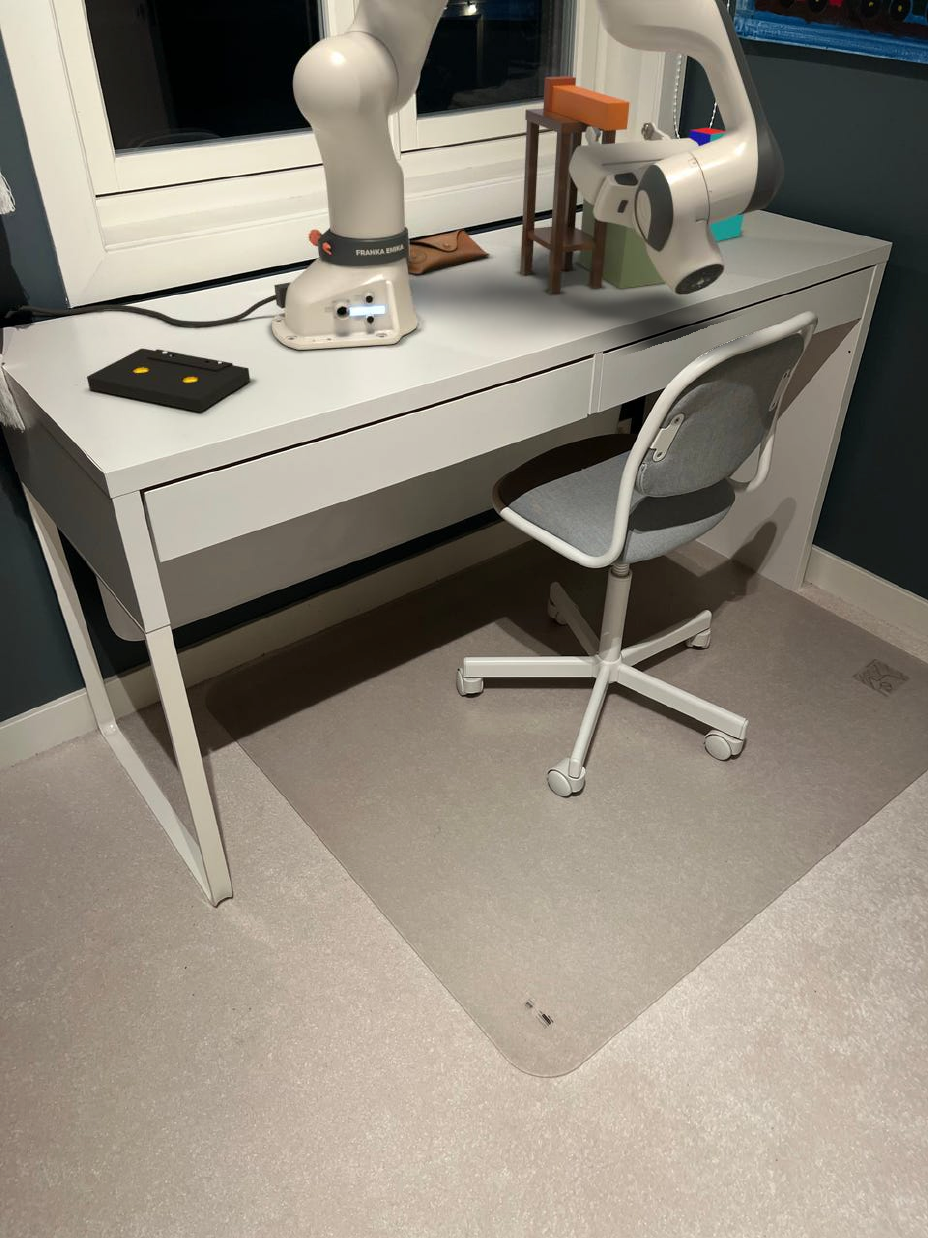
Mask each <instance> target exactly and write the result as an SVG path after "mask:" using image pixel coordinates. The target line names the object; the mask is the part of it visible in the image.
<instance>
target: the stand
mask: <svg viewBox="0 0 928 1238" xmlns="http://www.w3.org/2000/svg"><path fill="white" fill-rule="evenodd" d="M524 116H525V117H524V120H525V121H526V126H525V128H526V129H525V149H524V150H525V153H524V176H523V178H524V179H523V203H522V223H521V224H522V225H521V244H520V245H521V248H520V271H519V273H520V274H522V275H523V276H529V275H533V263H534V262H533V261H534V243H537V244H538V245H540V246H542V247H543V248H544V249H547V250H548V251H549V258H548V259H549V260H548V261H549V262H548V275H547V276H548V278H547V292H548V293H549V294H551V295H556V294H560V293H561V284H562V283H561V282H562V271H572V270H573V261H574V252H579V251H582V250H591V249H592V259H591V271H590V270H589V272H590V273H589V284H588V285H589V287H590V288H592V289H600V288H601V289H602V287H603V286H602V285H603V278H602V277H603V266H604V255H605V245H606V234H607V223H608V222H604V221H599V220H597V219H596V218H595V224H594V236H593V237H592V236H591V235H589V234H587V233H585V232H583V231H581V229H579V228H577V227H576V221H577V208H578V194H579V190H578V188H577V186H576V185H575V183H574V181H573V179H572V177H571V175H570V172H569V165H570V162H571V159H572V156H573V154H574V152H575V150H576V148H577V147H578V146H582V139H583V133H585V132H586V130H587V127H590V126H591V125H588V124H586V123H583V122H580V121H577V120H574V119H572V118H569V117H566V116H563V115H560V114H558V113H555V112H552V111H546V110H544V109H543V108H532V109H531V108H530V109H525V115H524ZM540 127H542V128H545V129H548V130H550V131H553V132H556V140H555V141H556V144H555V161H554V175H553V177H554V178H553V192H552V195H553V196H552V209H551V211H552V212H551V226H543V227H535V223H536V222H535V221H536V202H537V201H536V200H537V185H538V184H537V182H538V162H539V144H540V143H539V141H540V140H539V139H540ZM598 129H599V130H600V132H601V142H600V144H614V143H616V136H617V130H611V131H605V130H602V129H600V128H598Z"/></svg>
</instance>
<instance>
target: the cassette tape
mask: <svg viewBox="0 0 928 1238" xmlns="http://www.w3.org/2000/svg"><path fill="white" fill-rule="evenodd" d="M164 352H165V353H164ZM250 376H251V375H250V370H249V368H248V367H244V366H239V365H234V364H233V362H228V361H223V360H219V359H213V358H208V357H207V358H206V357H203V356H202V357H201V356H197V355H192V354H191V355H190V354H185V353H180V352H175V351H169V350H163V349H160V348H159V349H158V348H156V349H155V350H153V349H148V348H139V349H137V350H135V351H134V352H132V353H130V354H128V355H126V356H124V357H121V358H120V359H118V360H116V361H114V362H112V363H110V364H108V365H107V366H105V367H103V368H101V369H99V370H97V371H95V372H93V373H91V374H89V375H87V376H86V380H87V384H88V388H89V390H93V391H98V392H103V393H108V394H112V395H117V396H121V397H127V398H132V399H136V400H141V401H145V402H150V403H156V404H160V405H165V406H171V407H175V408H179V409H185V410H190V411H194V412H199V413H200V412H203V411H204V410H206V409H208V408H209V407H211V406H212V405H214V404H215V403H217V402H218V401H220V400H221V399H223V398H225V397H226V396H228V395H229V394H231V393H232V392H234V391H235V390H237V389H239V388H240V387H242V386H243V385H245V384H246V383H248V382H249V381H251V377H250Z"/></svg>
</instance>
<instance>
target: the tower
mask: <svg viewBox="0 0 928 1238" xmlns="http://www.w3.org/2000/svg"><path fill="white" fill-rule="evenodd" d="M576 80H577V77H575V76H571V75H567V76H565V75H564V76H548V77H547V76H546V77H544V90H543V106H542V107H543V108H542V109H544V110H546V111H552V112H555V113H558V114H560V115H563V116H566V117H569V118H572V119H574V120H577V121H580V122H583V123H586V124H588V125H591V126H598V128H600V129H602V130H605V131H611V130H616V131H623V130H628V121H629V115H630V114H629V112H630V103H631V102H630V101H627V100H624V99H620V98H617V97H614V96H611V95H607V94H604V93H601V92H597V91H594V90H591V89H588V88H584V87H581V86H577V85H576V82H577V81H576Z"/></svg>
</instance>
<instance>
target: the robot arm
mask: <svg viewBox="0 0 928 1238" xmlns="http://www.w3.org/2000/svg"><path fill="white" fill-rule="evenodd" d="M448 3H449V0H358V3H357V8H356V11H355V13H354V14H355V15H354V17H353V20H352V22H351V24H350V25H349V27H348V28H347V30H346V31H345V32H343V33H341V34H337V35H332V36H328V37H324V38H323V39H320V40H319V41H317V42H316V43H315V44H314V45H312V47H311V48H309V49H308V50H307V52H305V54H304V55H302V57H301V58H300V59H299V61H298V63H297V64H296V66H295V69H294V73H293V79H292V89H293V90H292V91H293V97H294V100H295V103H296V105H297V108H298V109H299V111H300V113H301V114H302V116H303V117H304V118H305V120H306V121H307V122H308V123H309V125H310V126H311V129H312V132H313V134H314V135H313V136H314V138H315V141H316V144H317V148H318V152H319V154H320V158H321V162H322V166H323V170H324V177H325V186H326V198H327V207H328V208H327V209H328V219H329V220H328V221H329V228H328V229H327V230H326V231H325V232H324V233H322V232H320V231H319V230H318V229H312V230H310V231H309V233H308V237H307V238H308V241H309V242H310V243H311V244H312V246H315V247H317V252H318V257H317V259H315V260H314V261H313V262H312V263H311V264H310V265H309V266H308V267H307V268H306V269H305V270H303V271H302V273H300V274H299V275H298V276H297V277H296V278H294V279H293V280H292V281H290V282H284V283H279V284H274V295H273V294H272V295H271V296H268V297H266V298H264V299H261V300H260V301H257V302H256V303H255V304H253V305H252V306H250V307H249V308H248V309H246V310H245V311H243V312H242V313H239V314H236V315H235V316H234V315H233V316H231V317H228V318H221V319H217V320H207V321H205V320H204V321H202V320H201V321H200V320H198V321H196V320H183V319H176V318H173V317H170V316H168V315H166V314H163V313H161V312H158V311H155V310H152V309H147V308H142V307H138V306H133V305H127V304H126V305H125V304H100V305H91V306H85V307H78V308H70V309H50V308H43V307H38V306H31V305H21V306H22V307H21V308H19V310H21V311H19V310H18V311H11V310H9V311H8V312H7V313H6V315H5V316H4V318H5V319H10V318H12V317H13V316H14V315H16V314H17V313H20V312H35V313H40V314H46V315H53V316H68V315H76V314H82V313H89V312H97V311H105V310H106V311H107V310H108V311H109V310H110V311H111V310H113V311H114V310H116V311H117V310H118V311H130V312H136V313H140V314H145V315H149V316H153V317H157V318H160V319H162V320H164V321H166V322H168V323H171V324H174V325H177V326H183V327H214V326H215V327H216V326H222V325H227V324H231V323H234V322H237V321H240V320H243V319H244V318H246V317H248V316H249V315H251V314H252V313H253V312H255V311H257V309H260V308H261V307H263V306H264V305H266V304H269V303H271V302H274V301H275V303H276V306H277V307H279V308H280V309H284V312H283V313H279V314H277V315H275V316H274V317H273V318H272V320H271V331H272V334H273V336H274V337H275V338H276V340H277V341H279V342H280V343H281V344H283V345H284V346H286V347H288V348H291V349H294V350H297V351H298V350H300V351H302V350H303V351H304V350H319V349H334V348H335V349H336V348H337V349H338V348H351V347H366V346H367V347H368V346H381V345H382V346H384V345H394V344H396V343H399V341H400V340H401V339H402V337H403V336H405V335H407V334H410V333H411V332H413V331H414V330H415V329H417V327H418V326H419V319H418V315H417V312H416V308H415V305H414V301H413V296H412V292H411V285H410V278H409V272H408V266H409V257H410V246H409V241H410V237H409V229H408V227H406V211H405V209H406V207H405V177H404V176H405V175H404V171H403V167H402V166H401V164H400V163H399V162H398V159H397V157H396V154H395V151H394V146H393V143H392V137H391V134H390V128H389V117H390V116H393V115H395V114H397V113H398V112H400V111H402V110H403V109H404V107H405V106H406V105H407V104H408V103H409V102H410V100H411V99H412V98H413V96H414V94H415V92H416V91H417V89H418V86H419V83H420V79H421V71H422V69H423V66H424V64H425V61H426V58H427V55H428V52H429V49H430V45H431V42H432V39H433V38H434V37H433V36H434V34H435V31H436V28H437V26H438V23H439V22H440V20H441V16H442V15H443V13H444V11H445V8H446V7H447V6H448V5H447V4H448ZM594 3H595V6H596V10H597V12H598V16H599V18H600V21H601V24H602V26H603V28H604V30H605V31H606V33H608V35H609V36H610V37H611V38H612V39H613V40H615V41H616V42H617V43H619V44H620V45H623V46H625V47H627V48H630V49H633V50H636V51H643V52H657V53H658V52H659V53H674V54H681V55H685V56H689V57H691V58H692V59H694V60H695V61H697V62H698V63H699V64H700V65H701V67H702V68H703V69H704V71H705V74H706V76H707V79H708V82H709V86H710V87H711V90H712V93H713V95H714V96H713V97H714V99H715V102H716V104H717V108H718V111H719V113H720V116H721V119H722V122H723V124H724V128H725V129H724V131H725V133H724V135H723V136H722V137H721V138H719V139H717V140H714V141H712V142H709V143H707V144H704V145H701V146H699V145H698V144H697V142H695V141H694V140H692V139H690V137H685V138H671V137H670V136H669V134H666V133H665V132H664V131H662V130H660V129H659V128H658V127H657V125H656V124H655V122H654V121H653V122H652V121H651V122H644V123H643V124H642V127H641V130H640V134H641V135H642V138H643V139H644V140H642V141H629V142H627V141H626V142H615V143H614V144H601V142H600V138H601V137H602V131H600V130H599V129H598V126H590V127H587V130H586V132H584V138H585V141H586V142H587V145H586V144H585V145H581V146H578V147H577V148H576V150H575V152H574V154H573V156H572V159H571V162H570V165H569V172H570V175H571V177H572V179H573V181H574V183H575V185H576V186H577V188H578V192H579V194H580V195H581V197H583V199H585V200H586V201H587V202H589V203H590V204H592V205H594V209H593V214H594V216H595V218H596V219H597V220H599V221H604V222H610V223H615V224H620V225H623V226H626V227H629V228H633V229H635V230H636V232H637V233H638V235H639V236H640V237H641V238H642V239H643V240H644V241H645V245H646V251H647V253H648V255H649V257H650V259H651V261H652V263H653V265H654V266H655V268H656V270H657V271H658V273H659V274H660V276H661V277H662V279H663V280H664V282H665V283H664V284H665V285H666V286H667V287H668V288H669V289H670V290H671V292H673V293H674V294H676V295H678V296H679V295H680V296H683V295H689V294H693V293H695V292H699V291H701V290H703V289H705V288H707V287H709V286H710V285H712V284H713V283H715V282H717V280H718V279H719V278H720V277H721V276H722V274H723V273H724V271H725V262H724V258H723V255H722V252H721V249H720V246H719V243H718V241H716V239H715V237H714V234H713V232H712V230H711V228H710V226H709V225H712V224H714V223H717V222H720V221H722V220H725V219H727V218H730V217H733V216H735V215H741V214H744V215H745V214H748V213H751V212H757V211H759V210H763V209H766V208H767V207H768V206H769V205H770V204H771V202H772V201H773V199H774V198H775V196H776V194H777V193H778V191H779V190H780V187H781V185H782V183H783V180H784V178H785V163H784V158H783V155H782V152H781V149H780V145H779V144H778V142H777V140H776V138H775V135H774V133H773V131H772V129H771V127H770V125H769V123H768V119H767V118H766V116H765V112H764V110H763V106H762V103H761V101H760V97H759V95H758V92H757V88H756V86H755V83H754V80H753V77H752V74H751V70H750V68H749V65H748V61H747V59H746V55H745V53H744V50H743V47H742V45H741V41H740V38H739V36H738V32H737V30H736V28H735V25H734V22H733V19H732V17H731V15H730V12H729V10H728V8H727V6H726V4H725V2H724V0H594Z"/></svg>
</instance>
